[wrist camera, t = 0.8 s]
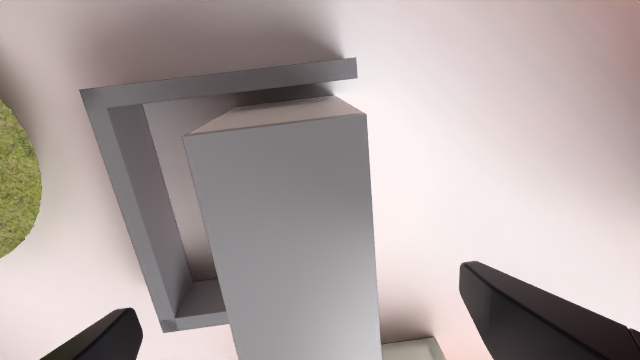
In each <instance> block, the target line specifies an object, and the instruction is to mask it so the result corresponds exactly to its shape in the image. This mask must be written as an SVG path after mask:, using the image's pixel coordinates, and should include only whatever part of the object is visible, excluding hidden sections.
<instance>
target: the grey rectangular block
mask: <svg viewBox="0 0 640 360" xmlns="http://www.w3.org/2000/svg"><path fill="white" fill-rule="evenodd" d="M182 139H183V143H184V147H185V151H186V155H187V159H188V163H189V167H190V171H191V174H192V178H193V182H194V186H195V190H196V194H197V198H198V202H199V206H200V210H201V214H202V217H203V221H204V225H205V229H206V233H207V237H208V241H209V245H210V249H211V253H212V257H213V260H214V264H215V268H216V272H217V276H218V280H219V284H220V288H221V292H222V296H223V300H224V304H225V307H226V311H227V315H228V319H229V323H230V327H231V331H232V335H233V339H234V343H235V347H236V350H237V354H238V358H239V360H382V356H381V340H380V324H379V308H378V292H377V276H376V260H375V244H374V228H373V212H372V196H371V180H370V164H369V148H368V132H367V116H366V114H365V113H363V112H362V111H360V110H358V109H357V108H355V107H353V106H352V105H350V104H348V103H346V102H345V101H343V100H341V99H340V98H338V97H336V96H335V95H333V96H324V97H316V98H308V99H299V100H291V101H283V102H274V103H266V104H257V105H249V106H241V107H235V108H234V109H232V110H230V111H228V112H226V113H224V114H223V115H221V116H219V117H217V118H215V119H213V120H212V121H210V122H208V123H206V124H204V125H203V126H201V127H199V128H197V129H195V130H193V131H192V132H190V133H188V134H186V135H184V136H182Z"/></svg>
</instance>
